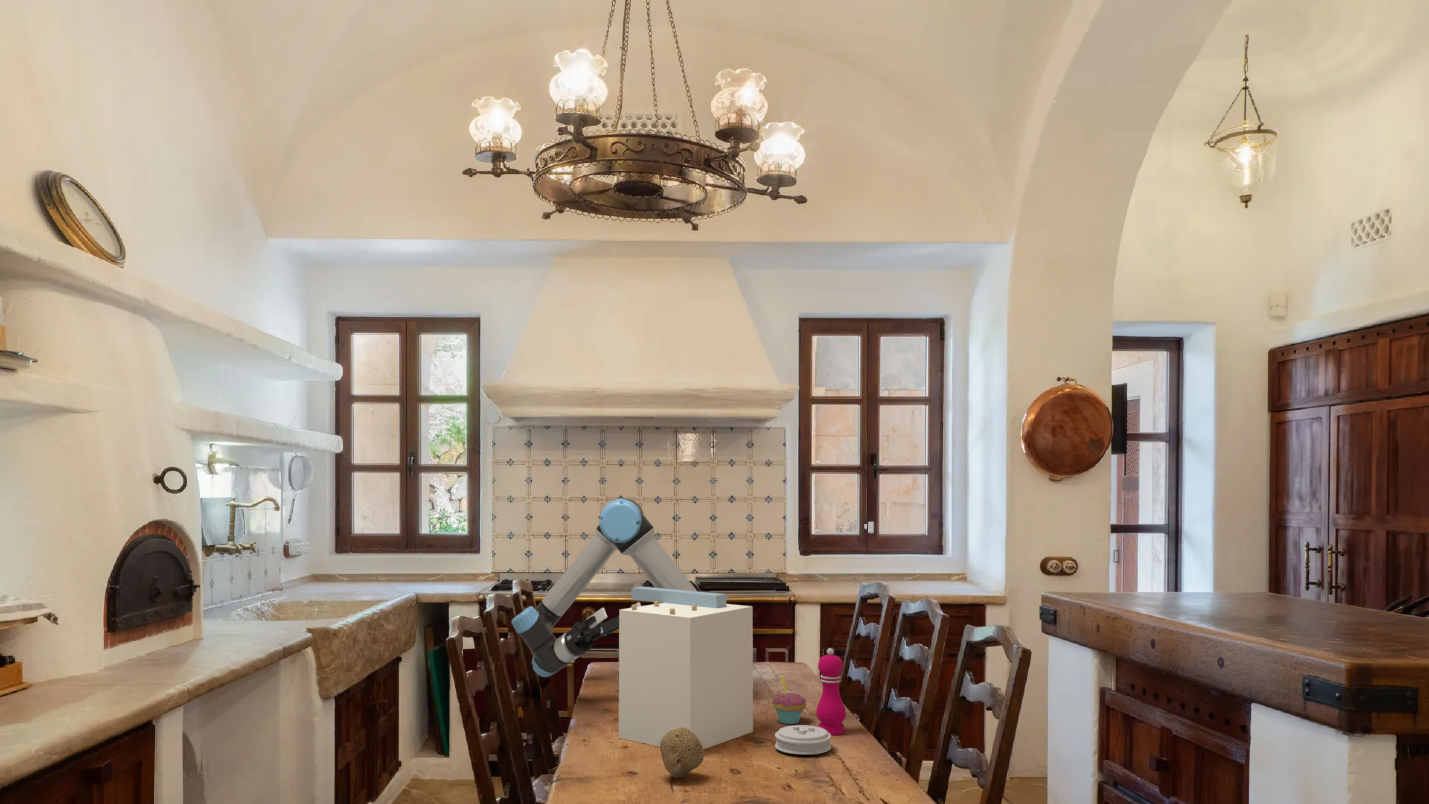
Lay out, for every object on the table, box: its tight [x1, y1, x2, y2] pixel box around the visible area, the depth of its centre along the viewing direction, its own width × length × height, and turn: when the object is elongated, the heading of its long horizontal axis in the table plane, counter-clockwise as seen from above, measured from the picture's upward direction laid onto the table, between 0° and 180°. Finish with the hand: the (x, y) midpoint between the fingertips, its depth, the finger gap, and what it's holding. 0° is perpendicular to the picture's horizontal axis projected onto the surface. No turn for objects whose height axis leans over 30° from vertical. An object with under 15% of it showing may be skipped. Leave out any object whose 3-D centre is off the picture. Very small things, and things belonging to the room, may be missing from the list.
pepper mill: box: [815, 647, 847, 736], centre depth 235 cm, size 7×7×20 cm
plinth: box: [618, 601, 754, 750], centre depth 233 cm, size 22×24×31 cm
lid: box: [774, 724, 832, 755], centre depth 219 cm, size 13×13×5 cm
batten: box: [631, 586, 727, 608], centre depth 244 cm, size 28×4×3 cm, turn 52°
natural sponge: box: [659, 727, 705, 779], centre depth 199 cm, size 9×9×10 cm
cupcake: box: [771, 672, 807, 725], centre depth 244 cm, size 9×8×12 cm
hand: (623, 609), depth 255 cm, fingers open, 13 cm apart
